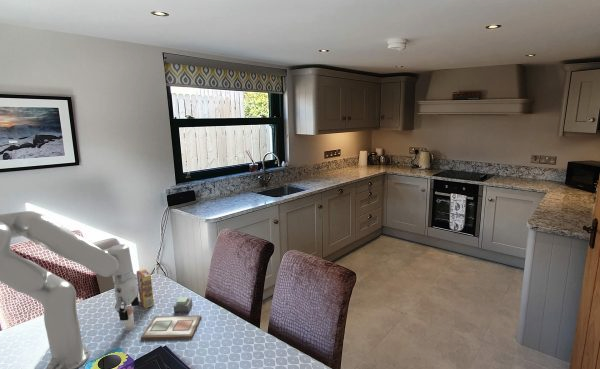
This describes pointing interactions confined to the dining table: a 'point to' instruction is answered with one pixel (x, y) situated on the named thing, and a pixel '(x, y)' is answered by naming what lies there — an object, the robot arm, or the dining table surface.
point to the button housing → (183, 307)
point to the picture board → (171, 327)
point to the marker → (130, 322)
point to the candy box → (145, 288)
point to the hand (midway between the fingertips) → (130, 312)
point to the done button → (182, 301)
